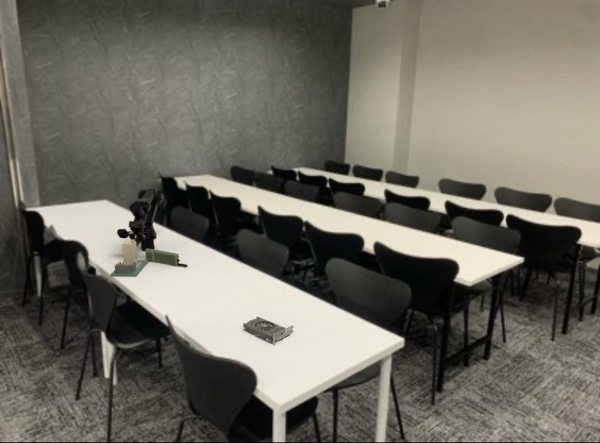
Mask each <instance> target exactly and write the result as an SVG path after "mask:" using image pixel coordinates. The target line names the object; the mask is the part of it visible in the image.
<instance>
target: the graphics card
mask: <svg viewBox="0 0 600 443" xmlns="http://www.w3.org/2000/svg"><path fill="white" fill-rule="evenodd" d="M243 328H245V329H246V330H247V331H249V333H251V334H254V335H256V336H254V337H255V338H256V339H259V340H261V341H263V342H266V343H267V344H270V345H274V346H275V345H276V343H277V342H278V341H279V342H280V341H283V339H284V338H288V337H289V336H290V335H291V334H292V333H294V325H289V326H288V327H285V326H283V325H279V324H277V323H275V322H272V321H270V320H267V319H265V318H262V317H260V316H256V317H255V318H253V319H250V320H248V321H247V322H246V323H244V322H243Z"/></svg>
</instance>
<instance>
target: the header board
mask: <svg viewBox="0 0 600 443" xmlns="http://www.w3.org/2000/svg"><path fill="white" fill-rule="evenodd" d="M137 262H138V264H137V265H136V262H133V263H132V264H131V265H129V262H128V263H127V265H126V262H124V260H123V261H118V262H117V263H116V264H114V270H113V271H112V272H111V274H110V277H123V278H124V277H126V278H127V277H128V278H129V277H131V278H133V277H135V278H137V276H138V275H139V274H140V273H141V272H142V270H143V269H144V268H145V267H146V266H147V265H148V264H149V262H150V261H149V260H146V259H137Z"/></svg>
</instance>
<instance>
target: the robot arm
mask: <svg viewBox="0 0 600 443" xmlns="http://www.w3.org/2000/svg"><path fill="white" fill-rule="evenodd" d="M164 199H165V198H164V194H163V192H162V191H159V190H158V189H156V188H147V189H146V192H145V194H144V195H143V197H142V198H138V199H137V200H135V201H134V202H132V203H131V204H130V205H129V211H130V213H131V214H132V216H133V217H134V219H133V220H129V221H128V228H129V230H127V229H126V228H118V229H117V231H116V234H117V236H118V238H120V239H127V238H129V240H130V241H132V240H133V239H134V240H135V241H136V248H138V246H139V245H140V249H141V251H142V252H145V249H147V248H149V249H154V250H155V249H156V248H155V240H157V235H158V234H157V232H156V230H155V228H154V227H155V226H154V221H155V218H156V215H157V214H156V213H157V210H158V207H160V206H161V205H162V203H163V201H164Z"/></svg>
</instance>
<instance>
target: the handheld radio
mask: <svg viewBox="0 0 600 443" xmlns="http://www.w3.org/2000/svg"><path fill="white" fill-rule="evenodd" d="M144 252H145V260H149V262H151V263H155V264H161V265H165V266H171V267H175V268H176V267H177V268H178V266H180V267H184V268H188V264H185V263H180V262H181V260H180V259H179V258H180V253H176V252H170V251H165V250H159V249H155V248H154V249H149V248H147V249H145V251H144Z"/></svg>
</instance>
